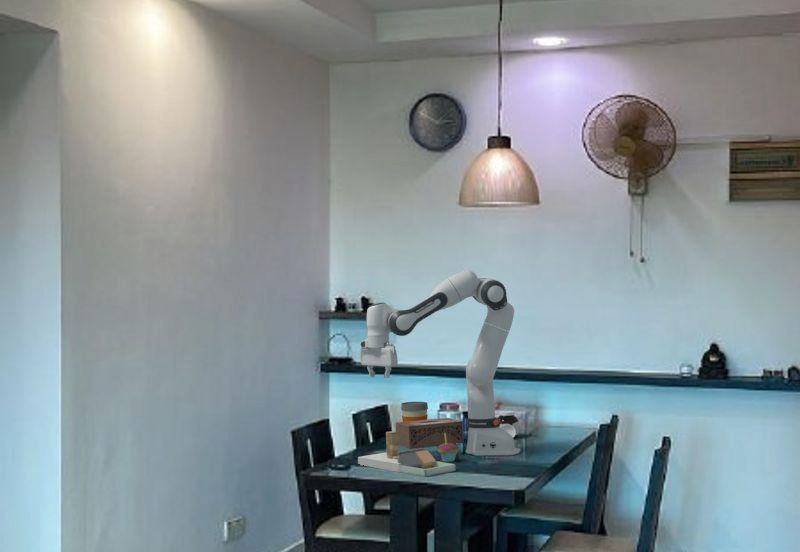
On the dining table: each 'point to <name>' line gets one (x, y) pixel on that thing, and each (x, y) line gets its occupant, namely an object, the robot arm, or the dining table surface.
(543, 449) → the dining table surface
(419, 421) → the tissue box cover
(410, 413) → the reusable coffee cup
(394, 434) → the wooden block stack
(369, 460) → the slab
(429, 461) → the terracotta tile
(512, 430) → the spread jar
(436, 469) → the tray
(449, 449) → the cupcake
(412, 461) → the charcoal tile
